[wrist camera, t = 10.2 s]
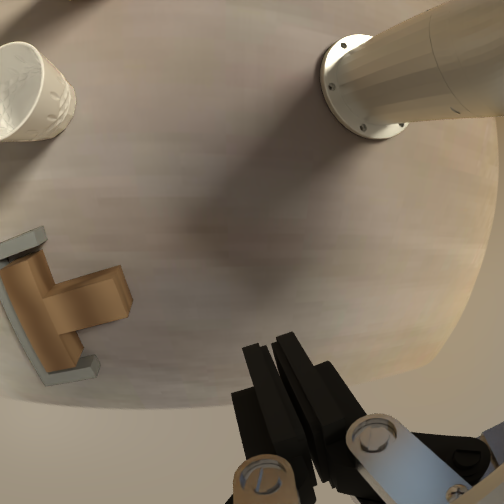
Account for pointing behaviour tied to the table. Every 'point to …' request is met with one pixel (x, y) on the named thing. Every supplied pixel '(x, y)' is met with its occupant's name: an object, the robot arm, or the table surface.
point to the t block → (62, 306)
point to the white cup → (32, 95)
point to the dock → (85, 365)
